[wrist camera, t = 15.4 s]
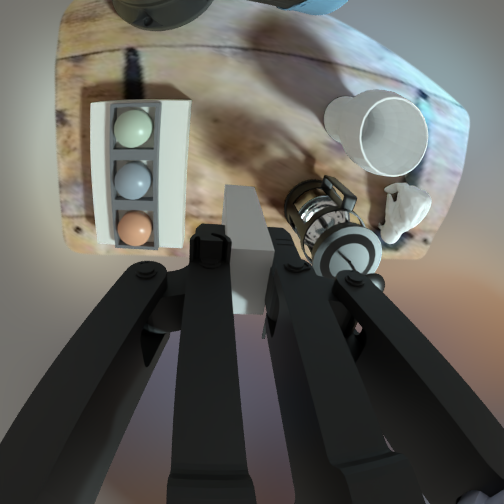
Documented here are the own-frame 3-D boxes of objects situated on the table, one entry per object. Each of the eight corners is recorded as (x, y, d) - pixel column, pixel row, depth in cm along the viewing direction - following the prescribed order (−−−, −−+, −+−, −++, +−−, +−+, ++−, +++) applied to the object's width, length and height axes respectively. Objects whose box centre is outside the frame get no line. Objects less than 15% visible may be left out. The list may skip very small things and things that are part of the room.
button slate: (118, 160, 38) (113, 164, 37) (152, 161, 39) (149, 164, 37) (119, 194, 41) (115, 199, 39) (152, 195, 42) (149, 200, 40)
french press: (326, 239, 53) (380, 332, 33) (275, 229, 51) (310, 327, 31) (349, 177, 47) (428, 246, 28) (296, 162, 46) (354, 228, 26)
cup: (300, 110, 41) (336, 122, 28) (354, 75, 39) (407, 75, 26) (337, 165, 46) (380, 198, 33) (387, 130, 44) (443, 152, 31)
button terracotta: (120, 208, 42) (116, 214, 40) (152, 210, 43) (149, 215, 41) (122, 238, 44) (118, 245, 43) (153, 240, 45) (150, 247, 43)
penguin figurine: (442, 201, 41) (412, 261, 48) (416, 179, 48) (392, 234, 55) (414, 192, 40) (384, 257, 47) (389, 170, 47) (365, 229, 54)
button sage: (119, 109, 35) (114, 110, 33) (154, 109, 35) (151, 110, 34) (118, 144, 37) (113, 147, 36) (152, 145, 38) (149, 147, 36)
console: (101, 101, 37) (86, 103, 32) (191, 99, 39) (187, 101, 34) (105, 232, 48) (94, 248, 43) (184, 236, 50) (181, 253, 45)
